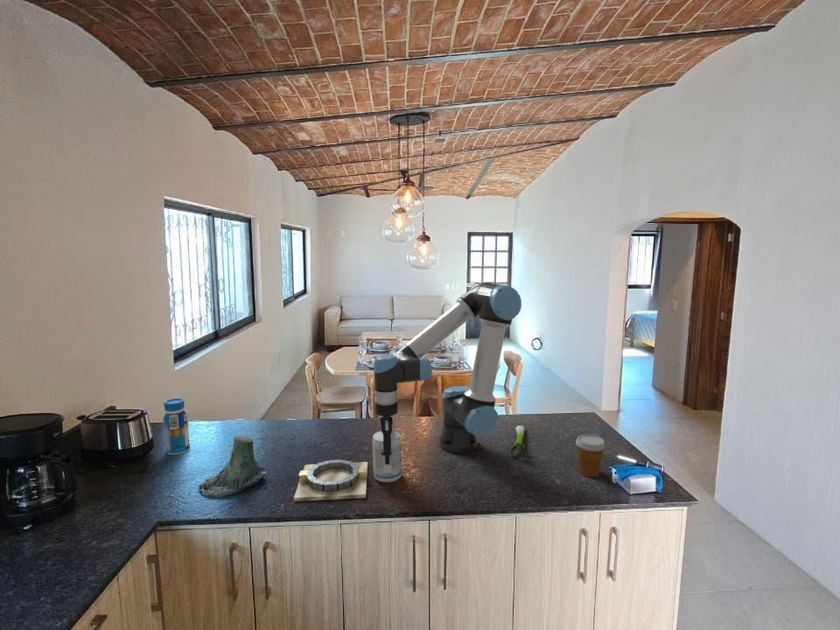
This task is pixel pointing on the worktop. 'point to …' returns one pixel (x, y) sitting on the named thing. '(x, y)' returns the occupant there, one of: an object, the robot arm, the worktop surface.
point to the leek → (519, 439)
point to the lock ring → (332, 485)
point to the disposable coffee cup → (589, 454)
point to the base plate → (332, 475)
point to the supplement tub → (394, 456)
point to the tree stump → (235, 472)
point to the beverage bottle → (176, 427)
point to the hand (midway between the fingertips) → (387, 465)
